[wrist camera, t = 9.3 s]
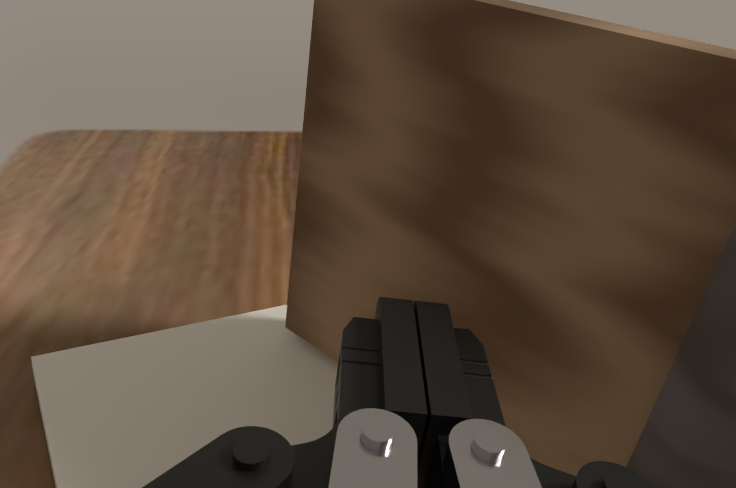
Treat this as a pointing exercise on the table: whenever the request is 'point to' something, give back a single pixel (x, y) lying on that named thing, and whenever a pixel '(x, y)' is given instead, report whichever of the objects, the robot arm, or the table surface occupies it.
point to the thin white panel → (178, 396)
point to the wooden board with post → (534, 217)
